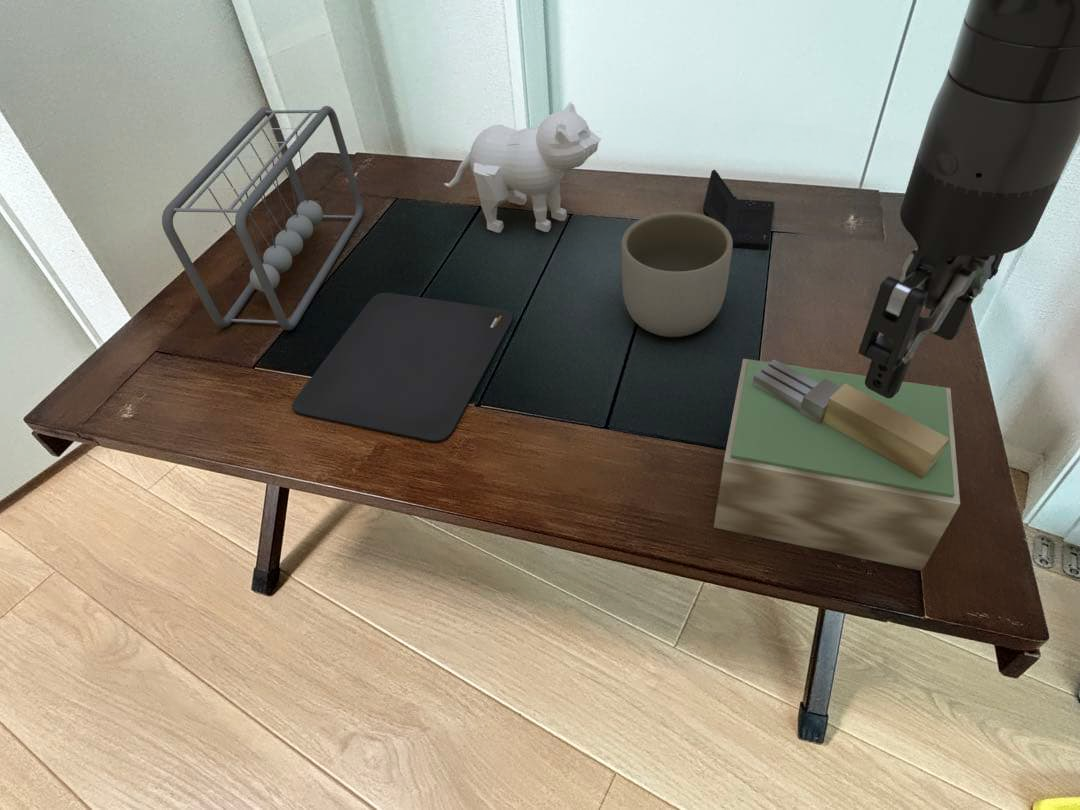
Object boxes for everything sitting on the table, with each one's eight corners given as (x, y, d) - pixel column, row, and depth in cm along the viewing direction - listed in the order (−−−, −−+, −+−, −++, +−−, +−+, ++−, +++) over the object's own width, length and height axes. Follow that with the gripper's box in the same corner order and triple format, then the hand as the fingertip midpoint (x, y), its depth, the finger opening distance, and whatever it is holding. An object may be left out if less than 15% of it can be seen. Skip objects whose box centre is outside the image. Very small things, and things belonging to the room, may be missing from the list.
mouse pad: (446, 445, 77) (445, 443, 77) (286, 412, 83) (286, 410, 83) (517, 312, 92) (516, 311, 92) (377, 292, 97) (376, 290, 97)
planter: (720, 353, 84) (730, 277, 76) (614, 344, 86) (613, 270, 78) (725, 287, 92) (735, 213, 84) (629, 281, 94) (629, 208, 87)
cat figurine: (434, 229, 108) (410, 121, 95) (462, 192, 114) (442, 87, 102) (595, 248, 100) (590, 134, 88) (614, 208, 107) (612, 97, 95)
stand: (917, 459, 71) (950, 388, 64) (922, 571, 63) (960, 504, 55) (732, 427, 76) (743, 358, 69) (713, 527, 67) (723, 461, 60)
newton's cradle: (290, 338, 93) (236, 217, 80) (217, 334, 94) (153, 216, 82) (366, 212, 113) (333, 99, 100) (305, 211, 115) (265, 100, 102)
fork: (940, 459, 58) (952, 435, 56) (920, 482, 57) (931, 458, 54) (772, 367, 67) (777, 343, 65) (751, 385, 65) (755, 361, 63)
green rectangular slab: (944, 391, 63) (946, 387, 63) (953, 498, 56) (954, 494, 56) (747, 362, 68) (748, 359, 68) (730, 457, 60) (731, 454, 60)
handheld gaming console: (786, 238, 95) (745, 181, 91) (739, 268, 99) (697, 214, 95) (776, 203, 104) (738, 149, 100) (733, 232, 108) (694, 181, 104)
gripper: (998, 230, 36) (909, 440, 48) (1111, 128, 42) (1008, 336, 54) (862, 183, 41) (810, 386, 52) (983, 96, 47) (912, 296, 58)
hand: (911, 361), depth 53 cm, fingers open, 8 cm apart
